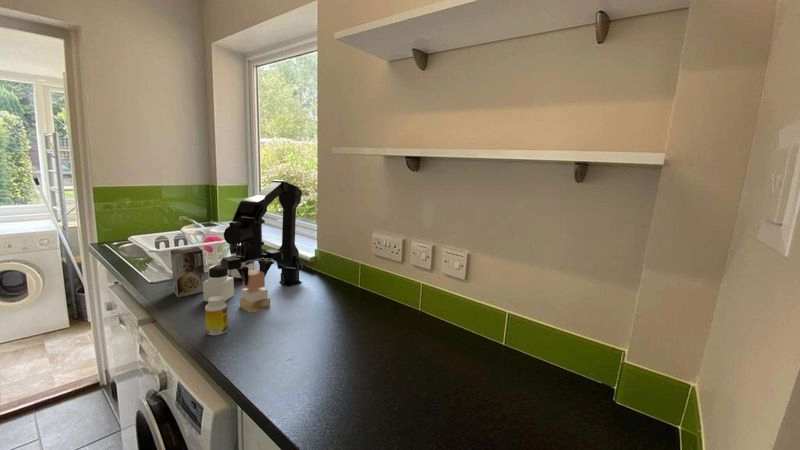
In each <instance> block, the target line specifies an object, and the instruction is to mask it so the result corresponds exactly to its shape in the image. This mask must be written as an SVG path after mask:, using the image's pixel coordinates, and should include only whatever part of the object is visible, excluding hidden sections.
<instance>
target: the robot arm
mask: <svg viewBox="0 0 800 450" xmlns="http://www.w3.org/2000/svg"><path fill="white" fill-rule="evenodd" d="M302 195H303V191H302V190H301V188H300V187H299V186H296V185H295V184H292V183H290V182H288V181H286V180H284V179H281V180H280V179H273V180H272V181H271V183H269V184H268V185H267V186H266V187H265V188H264V189H262V190H261V191H260V192H258V193H257V194H256V195H254V196H249V197H246V198H244V199H242V200H240V202H239V204H238V206H237V209H236V211H235V214H234V215H233V218H232V221H230V222H229V223H228V224H229V226H228V227H226V228H225V229H224V232H223V239H224V240H225V242H226V243H227V244H229V253H230V255H232V254H233V255H232V256H226V257H222V259H221V261H220V265H221V267H223V268H225V269H227V270H234V269H237V270H238V272H239V274H240V276H241V278H242V280H243V281H242V283H243V282H244V285H245V286H247V284H248V267H246V263H249V262H254V261H255V262H258V265H259V270H260V271H262V272H264V275H265V277H267V276H266V275H267V273H268V272H269V269H271V267H272V265H273V264H275V263H276V266H277V269H278V270H281V272H280V280H279V284H282V285H284V286H285V287H286V286H287V287H291V286H295V285H298V284H302V281H301V280H300V271H302V269H303V266H304V262H303V261H302V259H301V258H300V254H299V253H300V252H299V250H298V247H297V245H296V244H295V243H296V221H297V220H296V218H297V212H296V211H297V208H298V206H299V205H300V203H301V199H302ZM277 198H278V202H279V204H280V206H281V208H282V227H281V228H282V231H281V232H282V233H281V234H282V236H281V245H280V247H279V248H278V249H275V248H272V249H266V250H263V246H264V245H265V241H263V231H262V230H263V229H262V228H263V225H262V224H265V223H266V221H265V220H264V219H263V217H264V216H265V215H266V214H267V211H268V206H269V205H270V204H271V203H272V202H273V201H275V200H276V199H277ZM238 244H240V245H238ZM235 253H236V256H244V258H237V257H234V254H235ZM248 259H250V260H248Z"/></svg>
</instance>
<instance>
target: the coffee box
mask: <svg viewBox="0 0 800 450" xmlns="http://www.w3.org/2000/svg"><path fill="white" fill-rule="evenodd" d="M170 258H171V271H172V286H173V294H174V295H176V297H177V298H182V297H186V296H191V295H196V294H200V293H203V282H204V281H206V280H205V264H204V251H203V249H201V247H199V246H195V247H194V246H193V247H191V246H190V247H184V248H177V249H170Z"/></svg>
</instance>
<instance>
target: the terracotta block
mask: <svg viewBox="0 0 800 450" xmlns="http://www.w3.org/2000/svg"><path fill="white" fill-rule="evenodd" d="M265 279H266V276H265V275H264V272H262V271H260V269H258V268H257V269H256V268H255V270H250V271H248V284H247V286H245V285H244V282H243V281H242V287H244V288H247V289H249V290H254V289H258V288H262V287H264V288H265V285H266V284H265V283H266V281H265Z"/></svg>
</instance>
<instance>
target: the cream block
mask: <svg viewBox="0 0 800 450" xmlns="http://www.w3.org/2000/svg"><path fill="white" fill-rule="evenodd" d="M241 297H242V298H244V299H245V300H247V301H249V302H250V303H251V302H255V301H258V300H262V299H265V298H268V297H269V295H268V289H267V288H265V287H262V288H258V289H254V290H249V289H247V288H245V287H244V288H242V289H241Z"/></svg>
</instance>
